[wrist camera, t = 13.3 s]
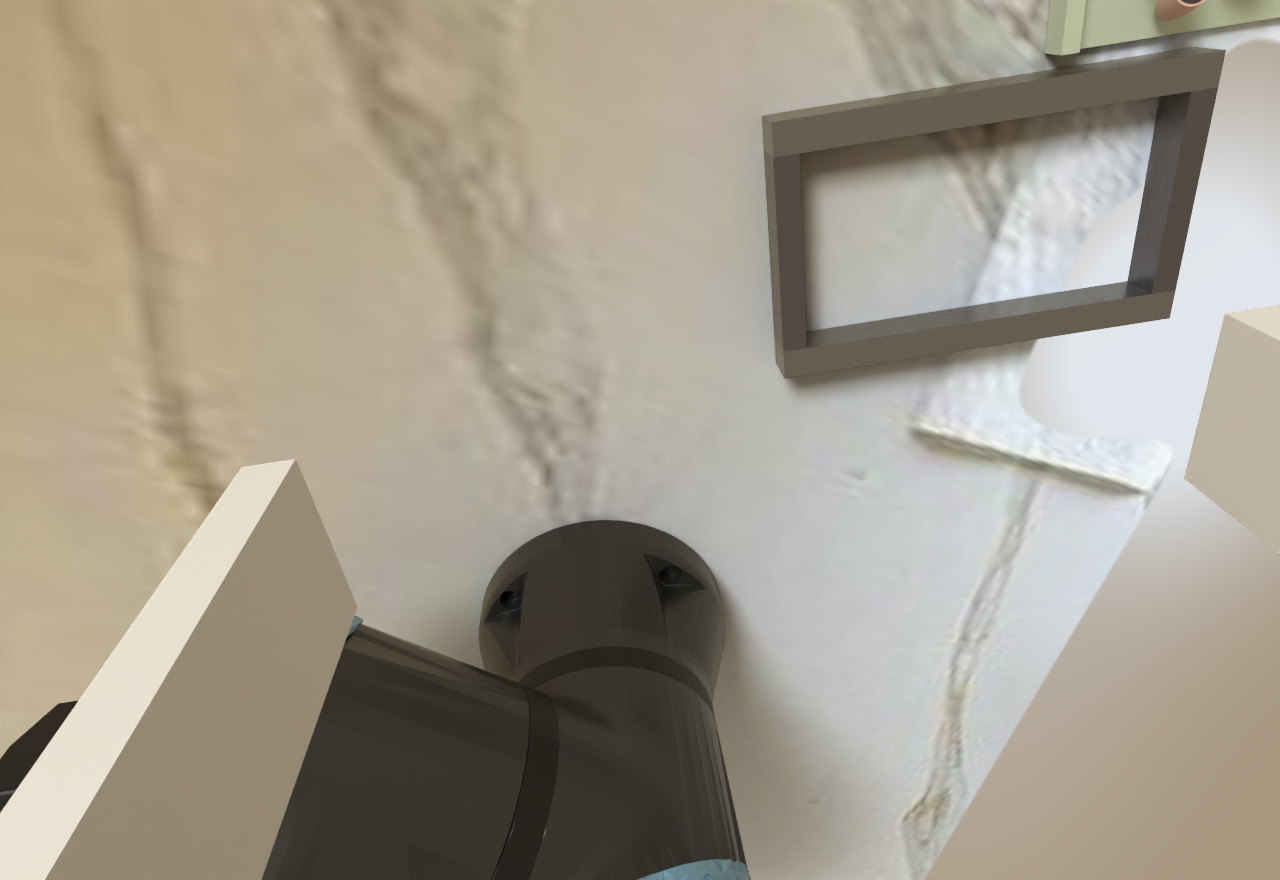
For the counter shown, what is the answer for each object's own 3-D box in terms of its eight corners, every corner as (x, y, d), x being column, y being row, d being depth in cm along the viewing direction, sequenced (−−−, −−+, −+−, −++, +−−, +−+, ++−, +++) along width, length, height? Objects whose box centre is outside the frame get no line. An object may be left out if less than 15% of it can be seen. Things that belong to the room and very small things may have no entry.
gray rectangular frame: (1145, 304, 42) (1169, 317, 41) (775, 362, 42) (784, 378, 41) (1194, 47, 36) (1225, 50, 34) (762, 115, 36) (771, 122, 35)
